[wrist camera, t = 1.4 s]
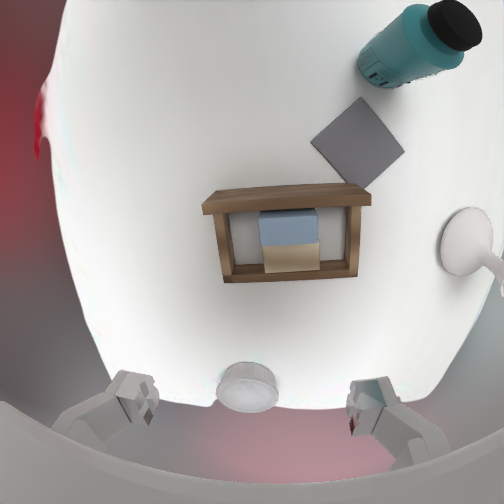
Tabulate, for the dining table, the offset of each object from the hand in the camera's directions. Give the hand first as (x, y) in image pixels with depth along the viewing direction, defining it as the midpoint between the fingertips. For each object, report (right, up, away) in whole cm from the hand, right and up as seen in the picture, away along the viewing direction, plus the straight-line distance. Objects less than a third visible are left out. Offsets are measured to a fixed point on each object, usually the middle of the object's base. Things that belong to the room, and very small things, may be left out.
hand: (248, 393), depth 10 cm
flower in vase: (+34, +8, +24) cm, 42 cm away
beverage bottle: (+16, +29, +16) cm, 37 cm away
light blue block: (+5, +11, +26) cm, 28 cm away
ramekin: (0, -18, +40) cm, 44 cm away
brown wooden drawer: (+5, +9, +27) cm, 28 cm away
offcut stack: (+5, +7, +28) cm, 29 cm away
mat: (+14, +19, +21) cm, 31 cm away
